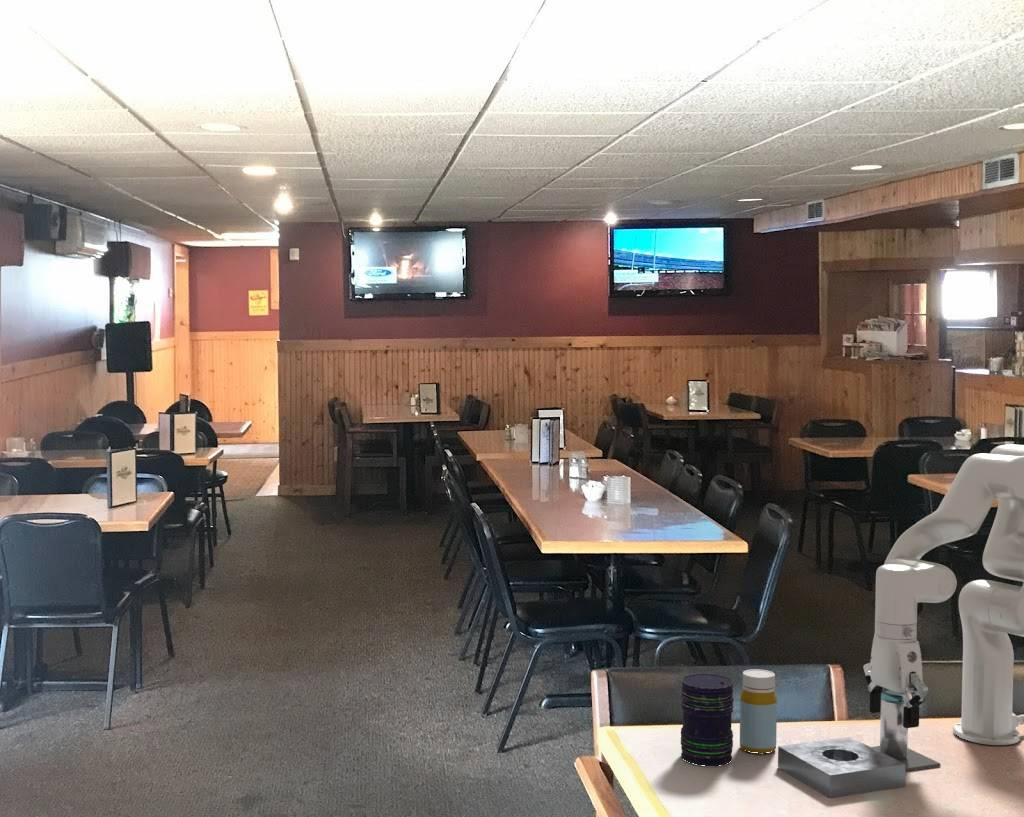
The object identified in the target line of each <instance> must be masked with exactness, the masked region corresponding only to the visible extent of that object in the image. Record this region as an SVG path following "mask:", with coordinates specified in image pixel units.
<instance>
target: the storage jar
mask: <svg viewBox="0 0 1024 817" xmlns="http://www.w3.org/2000/svg"><path fill="white" fill-rule="evenodd" d="M681 685H682V686H681V693H680V694H681V695H680V699H681V700H680V701H681V702H680V703H681V704H680V706H681V710H682V727H681V728H680V745H681V746H680V750H681V754H680V758H681V757H682V758H683V759H684V760H686V761H688V762H690V763H694V764H697V765H705V766H719V765H725V764H727V763H729V762H730V761H731V760H732V761H733V755H732V753H733V747H734V740H733V738H734V733H733V730H732V713H733V710H734V690H733V687H734V682H733V680H732V678H729V677H726V676H723V675H718V674H710V673H709V674H708V673H696V674H694V673H693V674H689V675H686V676H683V678H682V679H681ZM682 758H681V759H682ZM729 764H730V763H729ZM725 766H726V765H725ZM719 767H720V766H719Z"/></svg>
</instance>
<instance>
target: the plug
mask: <svg viewBox="0 0 1024 817" xmlns="http://www.w3.org/2000/svg"><path fill="white" fill-rule="evenodd" d="M882 691H883V692H881V712H880V719H879V722H880V726H879V727H880V728H879V731H880V732H879V735H880V736H879V746H880V752H882V753H884V754H886V755H888V756H890V757H892V758H894V759H896V760H898V761H904V760H906V759H907V751H908V748H909V747H908V744H909V743H908V742H909V741H908V740H909V728H904V727H903V708H904V706H906V704H905V702H904V700H903V697H902V695H901V694H897V693H895V692H892V691H890V690H882Z"/></svg>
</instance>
